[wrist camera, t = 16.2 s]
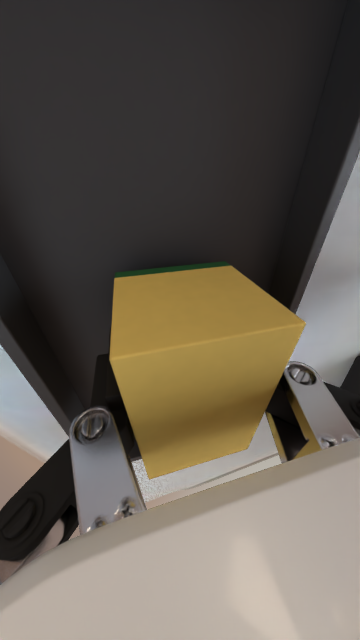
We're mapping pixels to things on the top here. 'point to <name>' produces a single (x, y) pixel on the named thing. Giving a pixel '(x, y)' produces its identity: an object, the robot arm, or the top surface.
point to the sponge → (196, 360)
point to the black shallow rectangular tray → (162, 159)
